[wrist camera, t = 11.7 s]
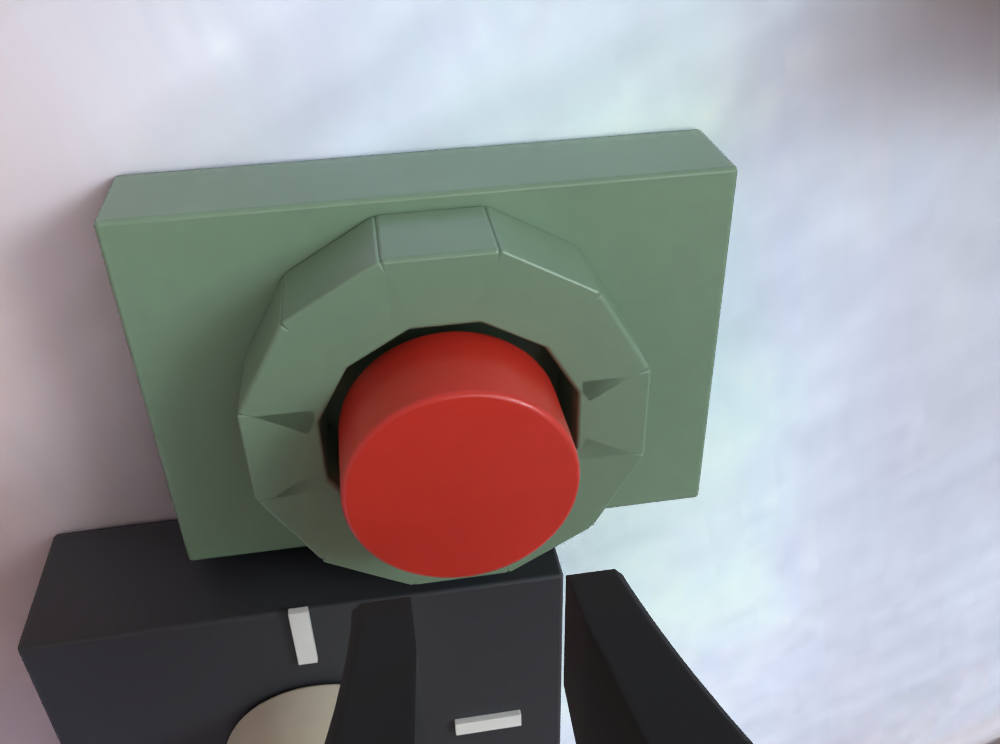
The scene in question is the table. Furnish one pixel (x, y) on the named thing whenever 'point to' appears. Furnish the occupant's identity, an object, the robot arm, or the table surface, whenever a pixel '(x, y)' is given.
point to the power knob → (289, 718)
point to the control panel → (274, 640)
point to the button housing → (417, 315)
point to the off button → (455, 456)
